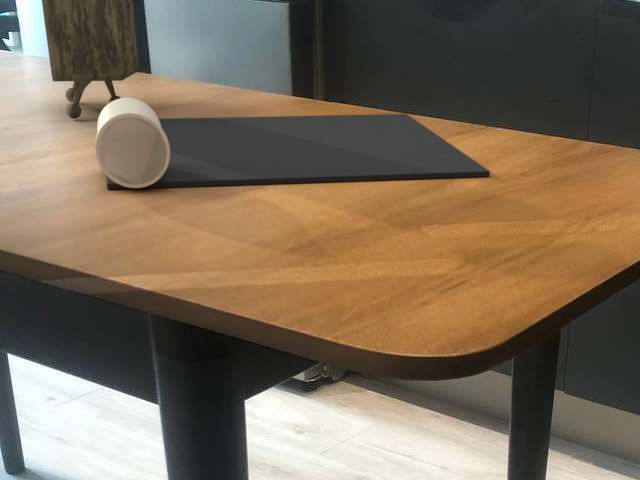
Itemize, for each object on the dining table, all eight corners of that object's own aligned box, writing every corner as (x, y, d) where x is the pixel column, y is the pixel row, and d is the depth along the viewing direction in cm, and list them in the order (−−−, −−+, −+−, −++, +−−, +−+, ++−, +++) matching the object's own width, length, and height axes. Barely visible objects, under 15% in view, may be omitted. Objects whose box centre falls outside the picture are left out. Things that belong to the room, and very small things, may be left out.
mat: (107, 189, 91) (106, 183, 91) (100, 124, 116) (100, 119, 116) (489, 176, 100) (490, 171, 99) (406, 118, 124) (406, 113, 124)
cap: (84, 123, 87) (84, 104, 95) (109, 196, 91) (108, 172, 98) (157, 104, 88) (151, 87, 96) (179, 178, 91) (172, 155, 99)
